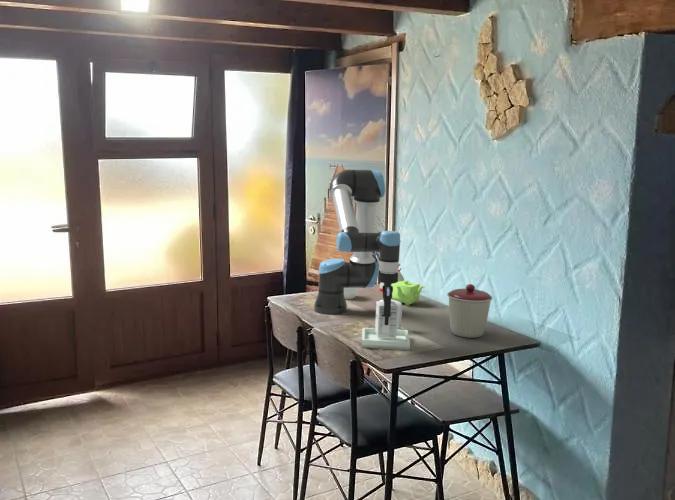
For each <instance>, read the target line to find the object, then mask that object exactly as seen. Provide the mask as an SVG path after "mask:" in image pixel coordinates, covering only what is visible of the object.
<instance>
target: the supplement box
mask: <svg viewBox="0 0 675 500" xmlns="http://www.w3.org/2000/svg"><path fill="white" fill-rule="evenodd" d="M375 303H376V304H375V305H376V306H375V323H374V325H375V326H374V328H375V332H376V334H377V336H378V338H396V328H397V311H398V306H397V305H396V304H395V302H393V301H391V312H390V314H391V316H390V332H389V333H382V328H383V317H382V315H383V314H384V301H380V300H377V301H376V302H375Z"/></svg>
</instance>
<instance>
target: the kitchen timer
mask: <svg viewBox="0 0 675 500" xmlns="http://www.w3.org/2000/svg"><path fill="white" fill-rule="evenodd" d="M398 267H400V266H398ZM401 271H402V267H401V268H399V269H398V272H397V273H398V282H399V281H404V280H405V278H404V275H403V274H402V272H401ZM379 283H380V284H379V291H380V292H381V293H383V290H382V287H383V286H384V283H381V282H379ZM392 284H393V283H392ZM392 284H391V285H392Z"/></svg>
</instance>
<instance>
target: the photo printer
mask: <svg viewBox="0 0 675 500" xmlns="http://www.w3.org/2000/svg"><path fill="white" fill-rule="evenodd" d="M379 301H383V299H380V300H379ZM391 301H393V302H395V304H396V305H397V306H398V311H397V328H396V329H398V330H402V317H403V314H402V313H403V303H402V302H398V301H395V300H391Z"/></svg>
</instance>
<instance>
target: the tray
mask: <svg viewBox="0 0 675 500" xmlns="http://www.w3.org/2000/svg"><path fill="white" fill-rule="evenodd" d="M410 340H411V339H410V336H409V331H408V329H401V330H398V329H396V338H378V336H377V334H376V332H375V327H362V329H361V348H365V349H379V350H380V349H383V350H402V351H403V350H404V351H406V350H407V351H410V348H411V347H410V346H411V341H410Z"/></svg>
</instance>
